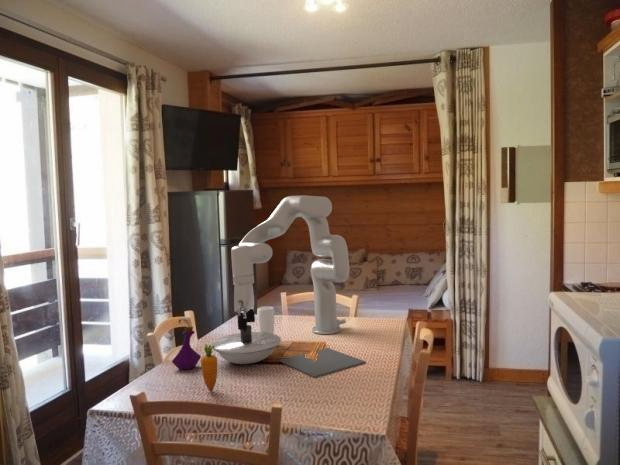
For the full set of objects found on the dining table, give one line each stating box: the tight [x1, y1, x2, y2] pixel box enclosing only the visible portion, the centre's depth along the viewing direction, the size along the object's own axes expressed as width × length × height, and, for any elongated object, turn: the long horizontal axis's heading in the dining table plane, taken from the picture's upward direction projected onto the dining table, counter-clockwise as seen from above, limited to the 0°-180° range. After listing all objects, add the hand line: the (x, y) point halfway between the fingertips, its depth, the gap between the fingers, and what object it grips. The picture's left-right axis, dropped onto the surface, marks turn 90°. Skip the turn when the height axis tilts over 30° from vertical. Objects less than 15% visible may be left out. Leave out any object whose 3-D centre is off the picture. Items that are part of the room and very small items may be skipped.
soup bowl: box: [215, 347, 276, 365], centre depth 187 cm, size 24×24×7 cm
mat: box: [278, 347, 366, 379], centre depth 182 cm, size 22×22×1 cm
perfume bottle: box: [171, 317, 202, 371], centre depth 182 cm, size 8×8×18 cm
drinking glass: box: [256, 306, 275, 334], centre depth 206 cm, size 7×7×15 cm
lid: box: [211, 324, 282, 354], centre depth 187 cm, size 25×25×6 cm
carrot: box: [200, 343, 218, 393], centre depth 158 cm, size 5×5×15 cm
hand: (246, 325), depth 187 cm, fingers open, 9 cm apart
